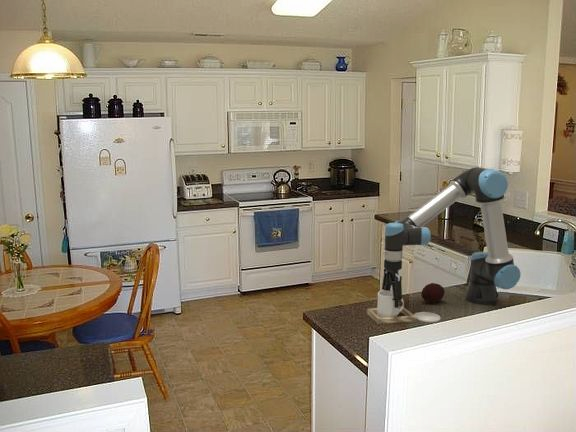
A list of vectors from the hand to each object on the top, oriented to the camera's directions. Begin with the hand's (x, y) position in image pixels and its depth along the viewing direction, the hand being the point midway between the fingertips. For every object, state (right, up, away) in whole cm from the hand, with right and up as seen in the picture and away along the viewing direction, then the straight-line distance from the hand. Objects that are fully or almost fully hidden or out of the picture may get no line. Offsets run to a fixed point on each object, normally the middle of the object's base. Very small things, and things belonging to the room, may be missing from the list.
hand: (390, 310), depth 236 cm
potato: (+23, 0, +21) cm, 31 cm away
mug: (0, -3, +1) cm, 3 cm away
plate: (+16, -3, 0) cm, 16 cm away
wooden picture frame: (0, -3, +1) cm, 3 cm away
